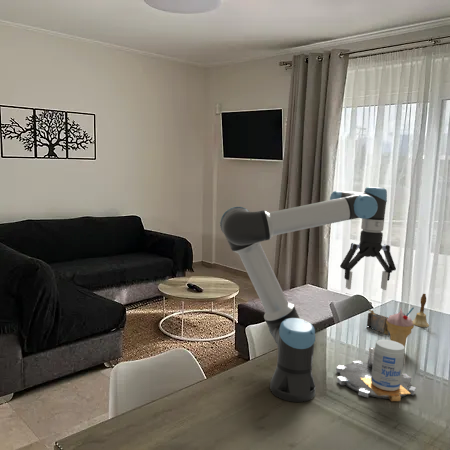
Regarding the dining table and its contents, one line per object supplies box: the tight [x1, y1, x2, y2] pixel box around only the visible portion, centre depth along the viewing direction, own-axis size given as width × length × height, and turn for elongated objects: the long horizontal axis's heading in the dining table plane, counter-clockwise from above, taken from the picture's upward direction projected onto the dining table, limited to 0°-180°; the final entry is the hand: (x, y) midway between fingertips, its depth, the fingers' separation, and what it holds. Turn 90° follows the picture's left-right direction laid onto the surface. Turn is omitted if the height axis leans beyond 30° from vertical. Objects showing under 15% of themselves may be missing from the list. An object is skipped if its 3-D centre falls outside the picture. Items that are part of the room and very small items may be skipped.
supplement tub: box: [371, 339, 406, 391], centre depth 155 cm, size 10×10×15 cm
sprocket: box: [335, 347, 417, 402], centre depth 162 cm, size 27×27×9 cm
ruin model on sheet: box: [366, 309, 390, 336], centre depth 216 cm, size 11×3×10 cm, turn 41°
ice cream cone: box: [386, 307, 415, 347], centre depth 193 cm, size 11×11×20 cm
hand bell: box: [412, 293, 430, 328], centre depth 229 cm, size 8×8×16 cm
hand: (365, 288), depth 164 cm, fingers open, 13 cm apart
